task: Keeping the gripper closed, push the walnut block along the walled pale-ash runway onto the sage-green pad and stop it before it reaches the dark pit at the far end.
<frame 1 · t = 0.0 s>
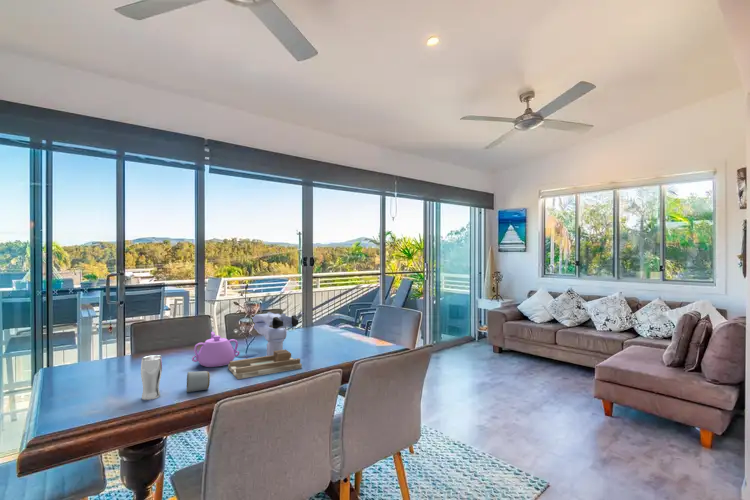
hand: (290, 323, 182), 22 cm above the table, tool horizontal, fingers open, 7 cm apart
purple sugar bowl: (215, 362, 189), on the table
runway: (265, 368, 181), on the table
beer glass: (150, 397, 144), on the table
walnut block: (281, 361, 186), point 2 cm above the table, touching runway
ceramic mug: (196, 389, 153), on the table
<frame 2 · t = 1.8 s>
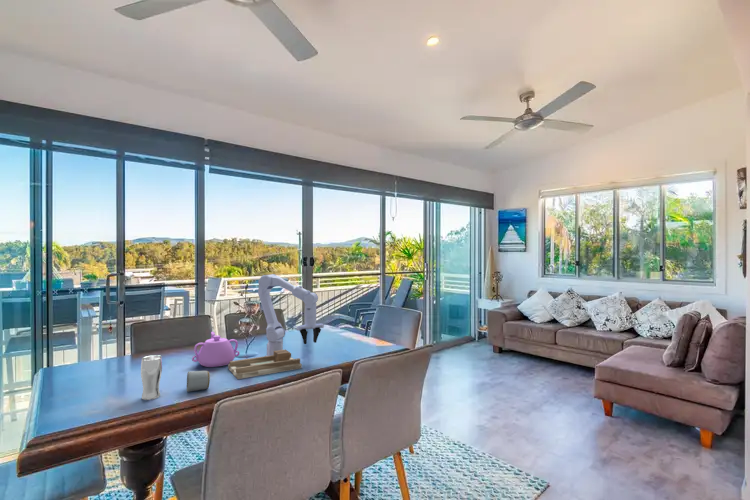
hand: (309, 343, 194), 9 cm above the table, tool pointing down, fingers open, 5 cm apart
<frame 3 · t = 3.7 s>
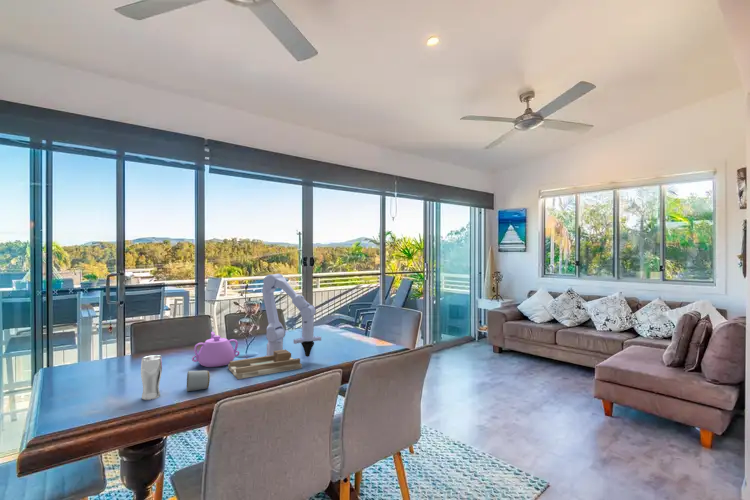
hand: (307, 356, 193), 3 cm above the table, tool pointing down, fingers closed
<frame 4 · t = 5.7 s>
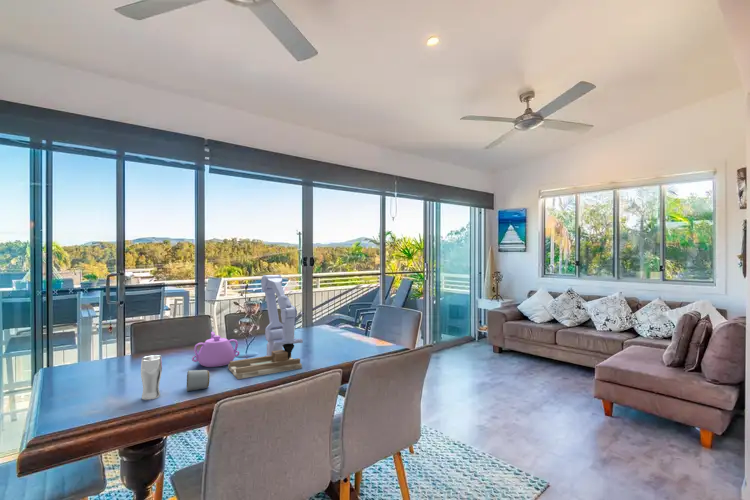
hand: (287, 358, 187), 3 cm above the table, tool pointing down, fingers closed, pressing on walnut block
walnut block: (279, 362, 185), point 2 cm above the table, touching gripper, runway
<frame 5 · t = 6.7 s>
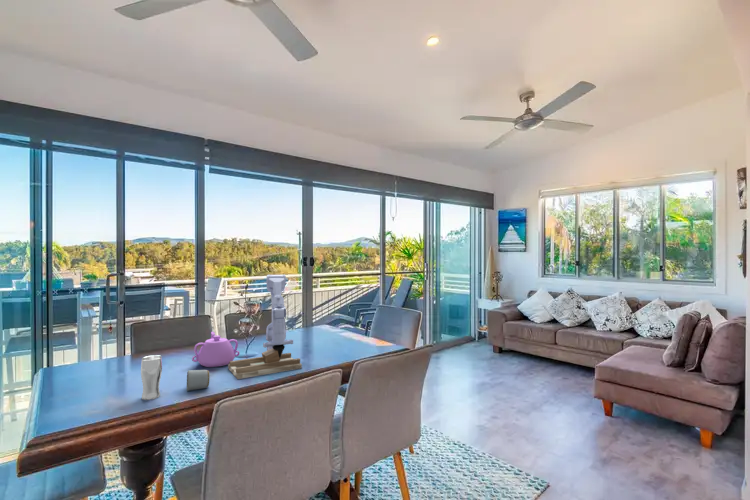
hand: (278, 360, 184), 3 cm above the table, tool pointing down, fingers closed, pressing on walnut block
walnut block: (272, 361, 183), point 3 cm above the table, tilted 15°, touching gripper
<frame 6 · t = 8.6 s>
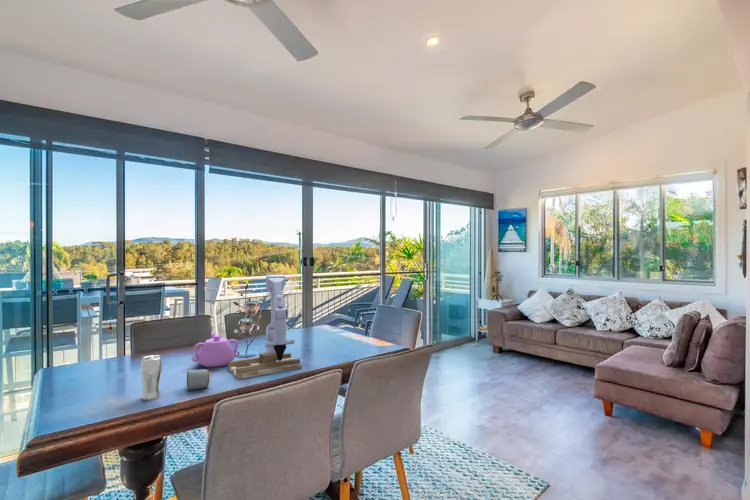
hand: (279, 360, 185), 3 cm above the table, tool pointing down, fingers closed
walnut block: (267, 364, 181), point 2 cm above the table, touching runway
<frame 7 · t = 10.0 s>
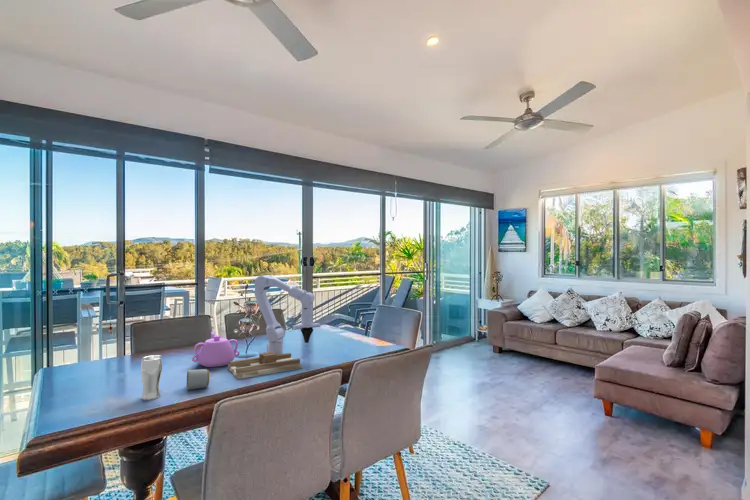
hand: (306, 342, 195), 9 cm above the table, tool pointing down, fingers closed
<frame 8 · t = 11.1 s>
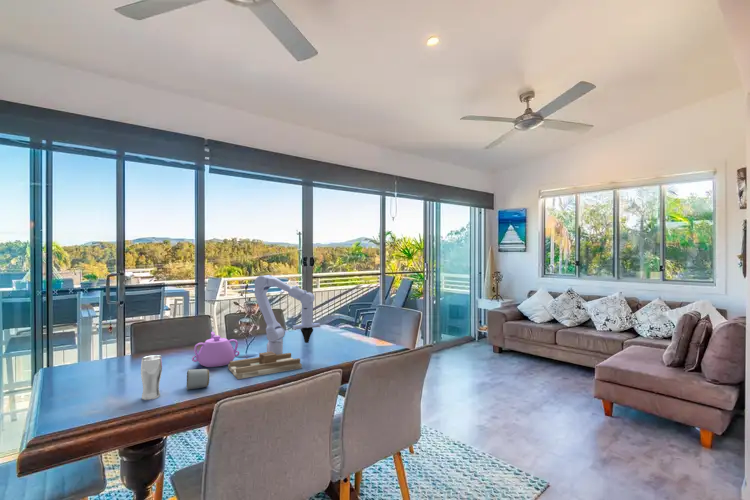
hand: (306, 342, 195), 9 cm above the table, tool pointing down, fingers closed
at the end: walnut block inside the target area on the runway (1.0 cm from its centre), point 2.0 cm above the runway's base; walnut block tilted 0° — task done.
